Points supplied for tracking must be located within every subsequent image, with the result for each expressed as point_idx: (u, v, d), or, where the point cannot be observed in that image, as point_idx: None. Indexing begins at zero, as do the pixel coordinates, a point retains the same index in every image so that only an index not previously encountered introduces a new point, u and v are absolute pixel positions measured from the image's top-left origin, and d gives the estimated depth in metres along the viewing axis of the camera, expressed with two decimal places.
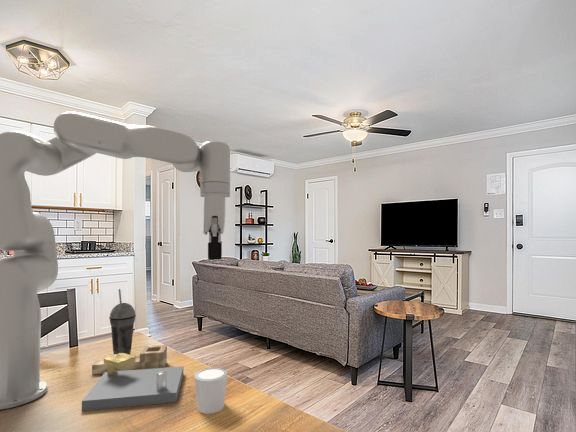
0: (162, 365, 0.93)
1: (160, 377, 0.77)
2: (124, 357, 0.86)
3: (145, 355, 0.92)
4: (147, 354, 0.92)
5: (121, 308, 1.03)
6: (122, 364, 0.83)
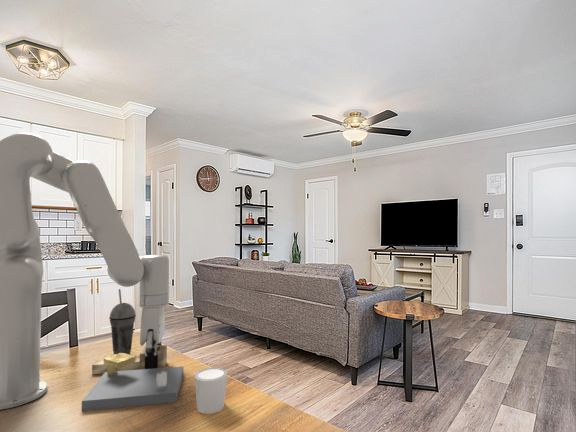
0: (162, 365, 0.93)
1: (160, 377, 0.77)
2: (124, 357, 0.86)
3: None
4: None
5: (121, 308, 1.03)
6: (122, 364, 0.83)
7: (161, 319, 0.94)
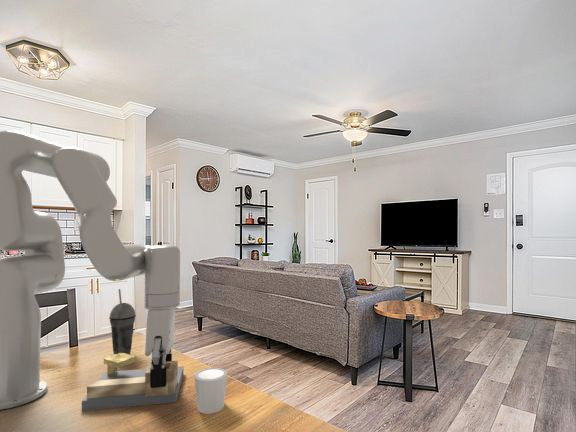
0: (173, 387, 0.76)
1: None
2: (124, 357, 0.86)
3: None
4: None
5: (121, 308, 1.03)
6: (122, 364, 0.83)
7: (171, 323, 0.77)
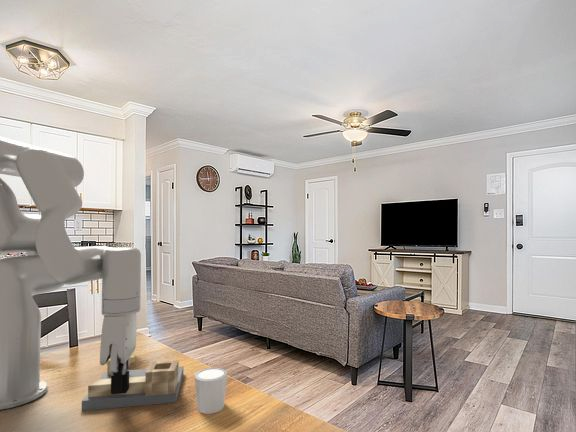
0: (173, 386, 0.76)
1: None
2: None
3: (152, 374, 0.75)
4: (155, 373, 0.76)
5: None
6: None
7: (129, 330, 0.73)
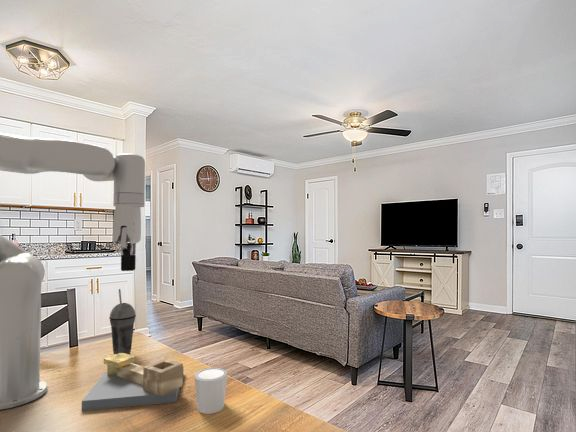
0: (160, 389, 0.75)
1: None
2: (124, 357, 0.86)
3: (147, 371, 0.77)
4: (149, 370, 0.77)
5: (121, 308, 1.03)
6: (122, 364, 0.83)
7: (136, 219, 0.90)
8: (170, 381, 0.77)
